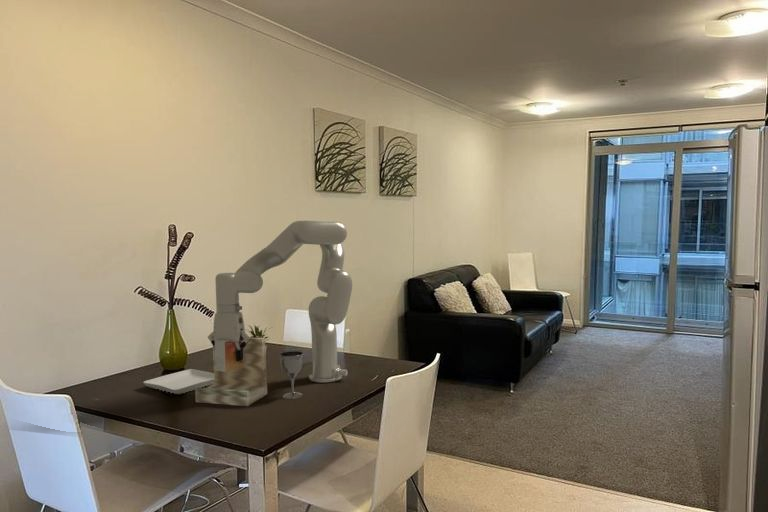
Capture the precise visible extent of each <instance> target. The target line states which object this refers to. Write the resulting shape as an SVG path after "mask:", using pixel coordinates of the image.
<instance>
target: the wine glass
mask: <svg viewBox="0 0 768 512" xmlns="http://www.w3.org/2000/svg"><path fill="white" fill-rule="evenodd" d="M279 362H280V366H281V370H282V372H284V374H285V375H286V376H287V377H288V378H289V380H290V381H289V382H290V384H291V386H290V387H291V392H287V393H285V394H283V395H282V398H283V399H286V400H296V399H300V398H302V397H304V394H303V393H302V392H297V391H296V392H295V380H296V379H295V378H296V377H297V376H298V374H299V373H300V372H301V370H302V368H303V363H304V352H303V351H302V350H285V351H283V352H280V353H279Z"/></svg>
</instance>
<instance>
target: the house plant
mask: <svg viewBox="0 0 768 512" xmlns="http://www.w3.org/2000/svg"><path fill="white" fill-rule="evenodd" d="M247 326H248V327H249V328H250V330H249V329H247V332H248V333H247V334H249V335H250V337H253V338H265V352H266V353H267V348H268V347H267V344H266V342H267V341H268V339H269V336H267V334H266V332H267V331H266V330H267V328H265V329H264V331H263V329H261V330H260V325H257V326H256V325H254V329H253V327H252V325H249V324H247ZM271 328H273V326H272V327H270V329H271Z"/></svg>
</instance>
